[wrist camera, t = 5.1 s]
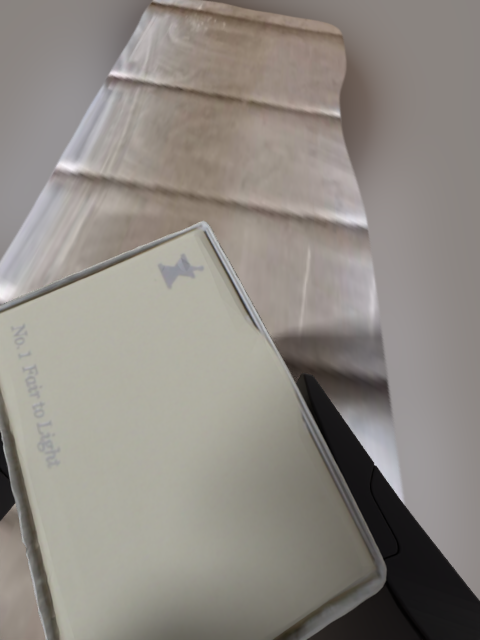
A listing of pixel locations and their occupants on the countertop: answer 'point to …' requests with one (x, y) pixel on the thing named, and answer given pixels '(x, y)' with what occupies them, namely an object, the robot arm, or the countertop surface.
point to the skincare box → (171, 459)
